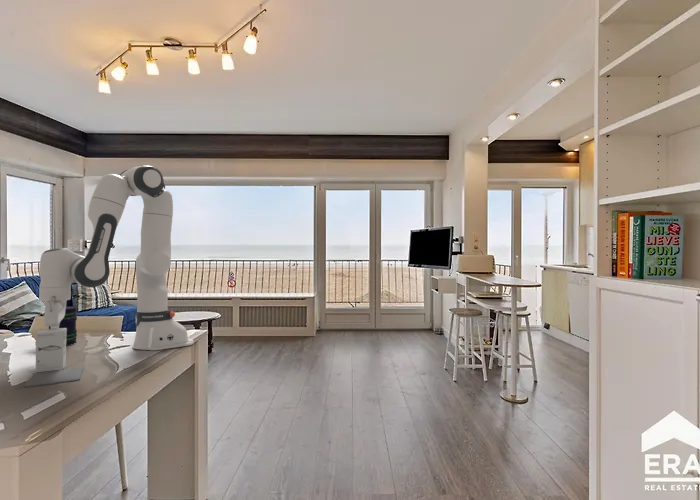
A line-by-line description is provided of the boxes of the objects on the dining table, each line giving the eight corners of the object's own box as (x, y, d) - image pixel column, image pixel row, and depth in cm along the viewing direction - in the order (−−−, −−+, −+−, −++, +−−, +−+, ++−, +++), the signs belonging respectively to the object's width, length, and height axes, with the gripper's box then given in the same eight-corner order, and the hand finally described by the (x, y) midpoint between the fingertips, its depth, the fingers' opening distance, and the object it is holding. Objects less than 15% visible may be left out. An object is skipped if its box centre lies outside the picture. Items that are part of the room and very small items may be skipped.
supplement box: (34, 373, 128) (34, 332, 128) (39, 367, 135) (39, 328, 135) (63, 370, 132) (63, 330, 132) (66, 364, 138) (66, 327, 138)
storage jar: (71, 340, 176) (71, 305, 176) (81, 343, 170) (81, 307, 171) (43, 344, 168) (43, 308, 168) (52, 347, 162) (53, 310, 163)
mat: (83, 368, 133) (83, 367, 133) (79, 380, 121) (79, 379, 121) (33, 374, 127) (33, 373, 127) (24, 387, 115) (24, 386, 115)
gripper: (63, 297, 134) (62, 340, 134) (69, 292, 152) (69, 329, 151) (38, 298, 131) (38, 342, 131) (48, 293, 148) (47, 331, 148)
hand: (54, 335), depth 141 cm, fingers closed
